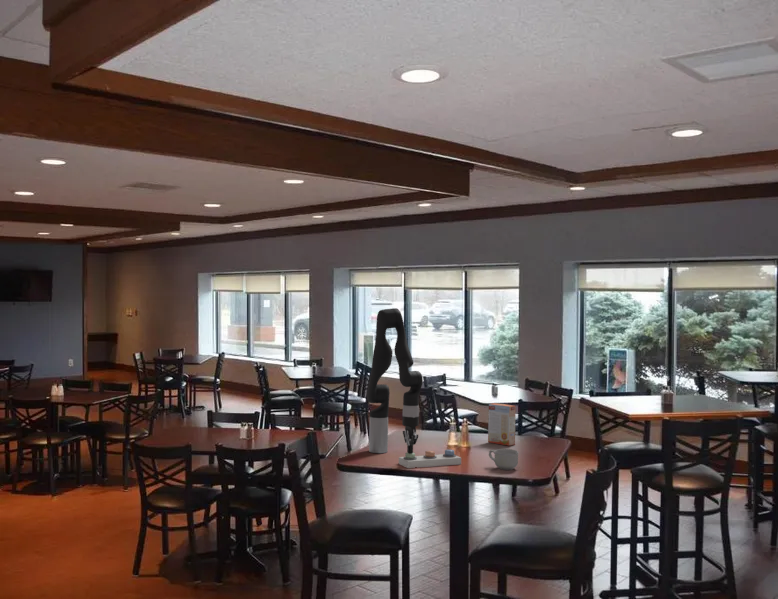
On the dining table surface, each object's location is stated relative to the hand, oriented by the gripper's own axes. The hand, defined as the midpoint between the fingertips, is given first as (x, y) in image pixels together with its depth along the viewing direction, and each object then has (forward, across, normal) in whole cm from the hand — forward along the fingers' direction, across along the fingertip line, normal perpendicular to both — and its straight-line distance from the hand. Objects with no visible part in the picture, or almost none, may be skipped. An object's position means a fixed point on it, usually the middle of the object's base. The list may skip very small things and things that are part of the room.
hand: (410, 453), depth 340 cm
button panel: (+6, 0, +10) cm, 12 cm away
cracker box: (+6, -35, +69) cm, 78 cm away
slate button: (+2, 0, +20) cm, 20 cm away
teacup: (+6, +18, +38) cm, 42 cm away
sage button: (+2, 0, 0) cm, 2 cm away
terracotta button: (+2, 0, +10) cm, 10 cm away
